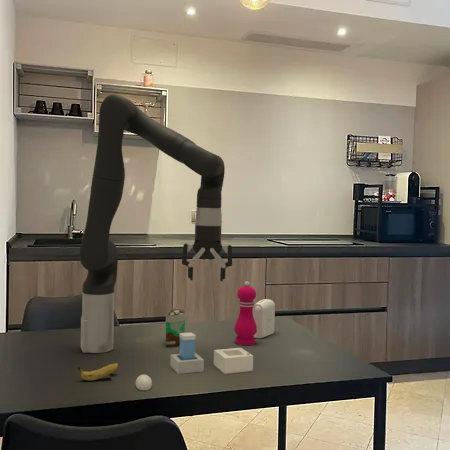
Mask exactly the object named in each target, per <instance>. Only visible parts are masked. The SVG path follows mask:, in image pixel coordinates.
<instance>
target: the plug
mask: <svg viewBox="0 0 450 450" xmlns="http://www.w3.org/2000/svg"><path fill="white" fill-rule="evenodd" d="M196 338H197V335H196V334H194V332H184V333H180V345H179V354H180V356H179V359H180V360H192V359H195V353H196Z"/></svg>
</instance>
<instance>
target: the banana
mask: <svg viewBox="0 0 450 450" xmlns="http://www.w3.org/2000/svg"><path fill="white" fill-rule="evenodd" d="M119 366H120V365H119V362H118V363H116V362H115V363H111V364H107V365H105V366H104V367H101V368H99V369H95V370H92V371H91V370H90V371H83V370H82V369H81V368H80V365H77V370H78V371H79V373H80V377H81V378H82V380H84V381H89V382H91V381H97V380H101V379H102V378H106V376H109V375H111V374H112V373H114V372H115V371H116V370H117V369H118V367H119Z"/></svg>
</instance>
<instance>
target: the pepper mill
mask: <svg viewBox="0 0 450 450" xmlns="http://www.w3.org/2000/svg"><path fill="white" fill-rule="evenodd" d="M250 285H251V283H250V282H249V281H247V280H246V281H244V286H240V288H238V290H237V298H238V299H239V300H238V306H239V314H238V317H237V319H236V321H235V325H234V333H235V335H236V336H235V344H237V345H240V346H253V345H255V343H256V338H255V337H254V335H255V334H256V332H257V326H256V323H255V320H254V317H253V309H254V306H255V301H254V300H255V299H256V296H257V292H256V289H255V288H254V287H252V286H250Z"/></svg>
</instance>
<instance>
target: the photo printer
mask: <svg viewBox="0 0 450 450" xmlns="http://www.w3.org/2000/svg"><path fill="white" fill-rule="evenodd" d="M275 315H276V304H275V302H274V300H272V299H266V298H264V299H260V300H259V301H258V302H256V303H254V306H253V317H254V320H255V323H256V326H257V332H256V334H255V335H254V336H253V337H255V339H262V338H263V339H264V338H266V337H268V336H271V335H273V334H274V333H275V318H276V317H275Z"/></svg>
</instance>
